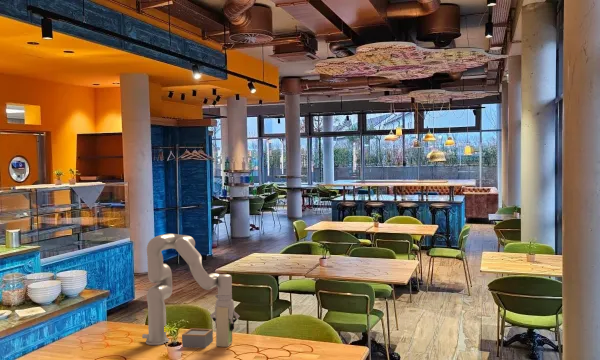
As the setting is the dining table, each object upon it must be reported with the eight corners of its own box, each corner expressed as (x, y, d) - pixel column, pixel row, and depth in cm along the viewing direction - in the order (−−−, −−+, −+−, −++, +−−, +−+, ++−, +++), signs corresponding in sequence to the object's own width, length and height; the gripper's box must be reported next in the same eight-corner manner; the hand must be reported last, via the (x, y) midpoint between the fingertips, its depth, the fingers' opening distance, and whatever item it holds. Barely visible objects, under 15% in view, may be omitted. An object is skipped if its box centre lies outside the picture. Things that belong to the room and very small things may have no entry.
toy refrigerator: (229, 347, 275) (229, 307, 276) (215, 346, 277) (215, 307, 277) (233, 342, 283) (233, 304, 284) (221, 342, 285) (221, 303, 285)
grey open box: (182, 347, 278) (182, 334, 278) (190, 340, 290) (190, 328, 290) (205, 347, 276) (205, 335, 276) (212, 341, 288) (212, 329, 288)
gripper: (207, 298, 278) (207, 331, 278) (238, 299, 275) (238, 332, 275) (211, 295, 286) (211, 327, 285) (242, 296, 283) (242, 329, 282)
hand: (224, 330), depth 280 cm, fingers closed on toy refrigerator, 7 cm apart
